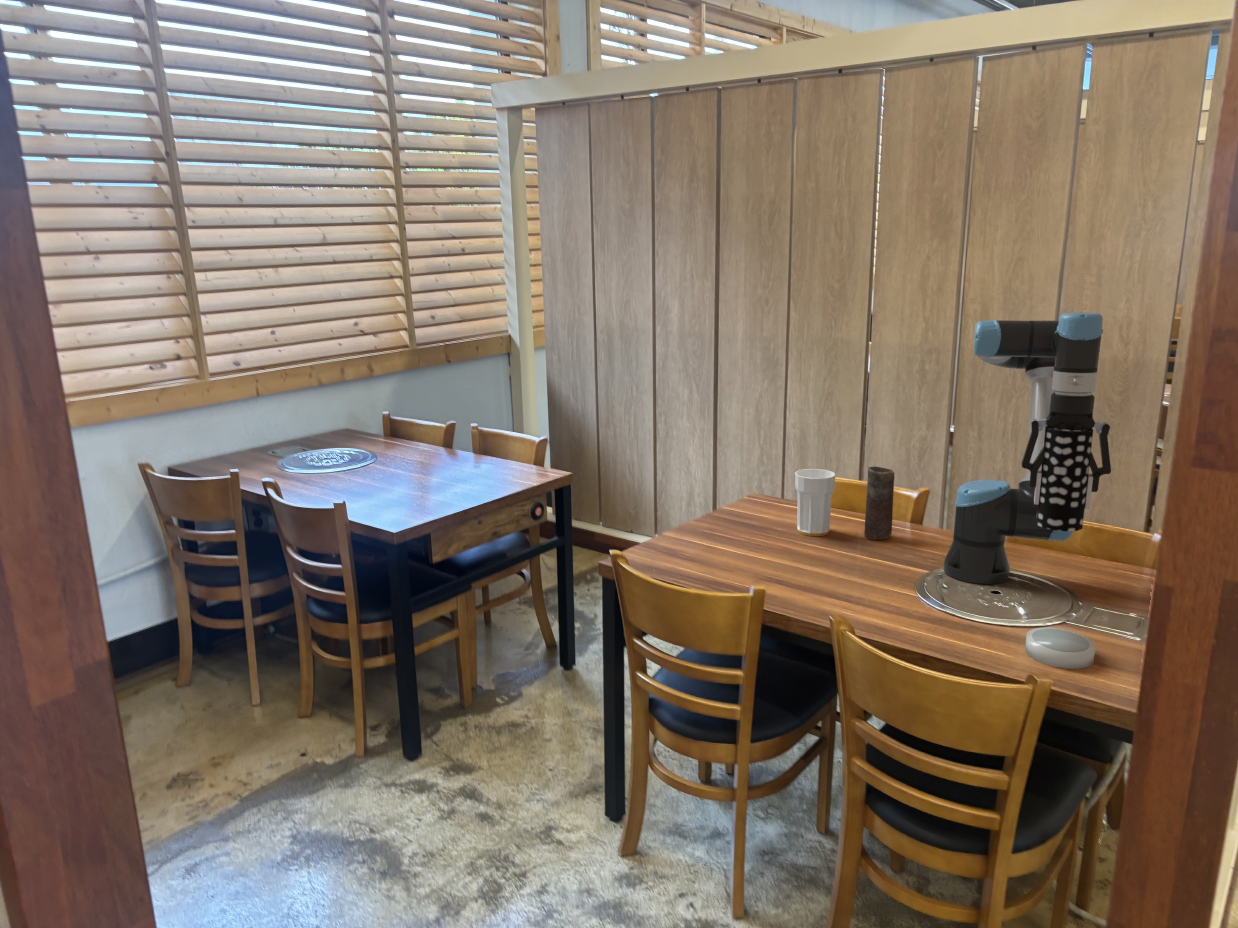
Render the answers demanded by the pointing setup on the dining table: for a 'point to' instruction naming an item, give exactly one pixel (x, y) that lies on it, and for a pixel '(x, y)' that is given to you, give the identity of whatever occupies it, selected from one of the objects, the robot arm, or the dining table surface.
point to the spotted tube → (1064, 479)
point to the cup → (814, 501)
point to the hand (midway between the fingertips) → (1061, 504)
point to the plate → (1060, 648)
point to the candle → (879, 503)
